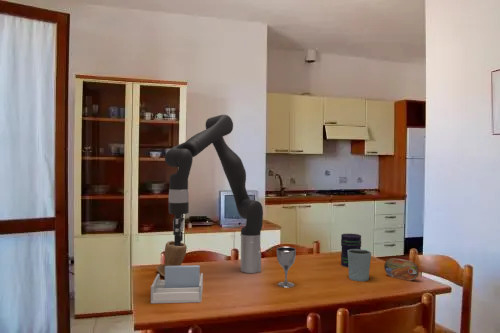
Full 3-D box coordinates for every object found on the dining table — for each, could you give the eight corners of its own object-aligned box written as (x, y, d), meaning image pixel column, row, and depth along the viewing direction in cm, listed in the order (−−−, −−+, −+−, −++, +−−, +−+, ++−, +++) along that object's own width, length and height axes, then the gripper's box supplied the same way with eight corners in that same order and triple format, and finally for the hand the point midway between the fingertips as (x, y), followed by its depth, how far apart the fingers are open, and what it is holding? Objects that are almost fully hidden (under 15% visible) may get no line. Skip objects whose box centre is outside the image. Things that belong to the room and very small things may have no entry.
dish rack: (202, 287, 159) (202, 273, 159) (201, 302, 142) (201, 285, 142) (157, 288, 157) (157, 273, 157) (150, 303, 141) (150, 286, 141)
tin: (383, 275, 178) (383, 257, 178) (386, 274, 180) (387, 255, 180) (417, 282, 167) (417, 263, 167) (420, 281, 170) (420, 261, 170)
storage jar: (363, 264, 197) (364, 234, 197) (357, 268, 189) (358, 237, 189) (344, 261, 202) (344, 232, 202) (337, 265, 194) (338, 235, 194)
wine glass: (297, 283, 166) (297, 247, 166) (293, 288, 158) (293, 251, 158) (279, 281, 168) (279, 246, 168) (274, 286, 161) (274, 250, 161)
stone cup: (189, 277, 173) (189, 243, 173) (162, 280, 168) (162, 245, 168) (180, 269, 187) (180, 237, 186) (155, 271, 182) (155, 239, 181)
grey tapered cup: (343, 278, 173) (343, 251, 173) (354, 273, 180) (354, 247, 180) (364, 283, 166) (364, 255, 166) (375, 278, 173) (375, 251, 173)
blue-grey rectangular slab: (199, 291, 152) (199, 265, 152) (199, 293, 149) (199, 266, 149) (165, 291, 151) (165, 265, 150) (164, 293, 148) (164, 267, 148)
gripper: (187, 202, 143) (187, 247, 143) (189, 199, 157) (189, 239, 157) (166, 203, 142) (166, 247, 142) (170, 199, 156) (170, 239, 156)
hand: (178, 243), depth 149 cm, fingers open, 8 cm apart
